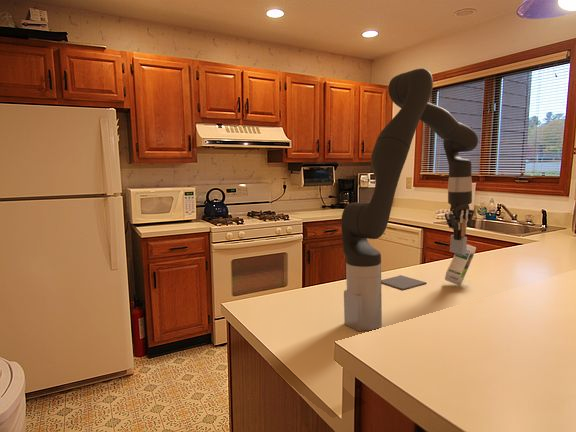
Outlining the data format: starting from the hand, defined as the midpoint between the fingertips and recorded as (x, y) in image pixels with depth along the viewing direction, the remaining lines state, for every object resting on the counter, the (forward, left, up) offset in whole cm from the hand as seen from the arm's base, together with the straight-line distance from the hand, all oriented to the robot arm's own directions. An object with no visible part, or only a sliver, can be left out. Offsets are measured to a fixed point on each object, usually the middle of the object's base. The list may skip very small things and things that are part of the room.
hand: (459, 239), depth 131 cm
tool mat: (-14, +13, -16) cm, 25 cm away
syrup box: (-4, 0, -14) cm, 14 cm away
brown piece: (0, +1, -5) cm, 5 cm away
